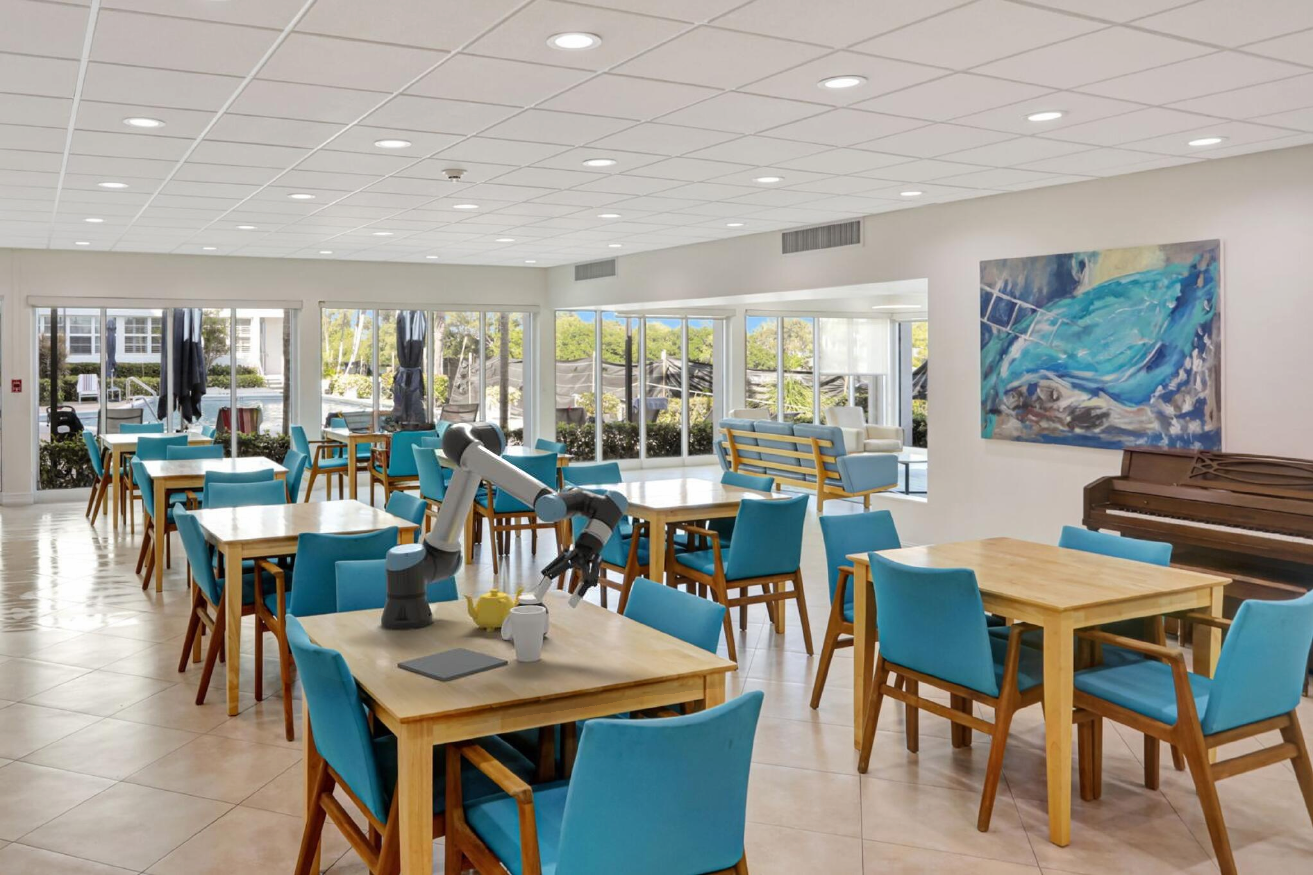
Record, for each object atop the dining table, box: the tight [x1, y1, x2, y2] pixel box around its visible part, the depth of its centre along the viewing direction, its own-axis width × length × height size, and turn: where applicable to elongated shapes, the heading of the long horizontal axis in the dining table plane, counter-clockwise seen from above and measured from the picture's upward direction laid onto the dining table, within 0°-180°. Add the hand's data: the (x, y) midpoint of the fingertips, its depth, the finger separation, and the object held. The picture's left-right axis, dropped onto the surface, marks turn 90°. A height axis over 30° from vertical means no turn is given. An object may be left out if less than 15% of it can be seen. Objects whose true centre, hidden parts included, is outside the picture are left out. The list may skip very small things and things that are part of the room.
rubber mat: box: [397, 647, 509, 682], centre depth 264 cm, size 20×20×1 cm
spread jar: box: [500, 593, 550, 641], centre depth 291 cm, size 12×11×12 cm
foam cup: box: [510, 606, 546, 663], centre depth 270 cm, size 10×9×13 cm
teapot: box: [462, 586, 526, 633], centre depth 302 cm, size 20×15×12 cm
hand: (553, 601), depth 275 cm, fingers open, 13 cm apart
